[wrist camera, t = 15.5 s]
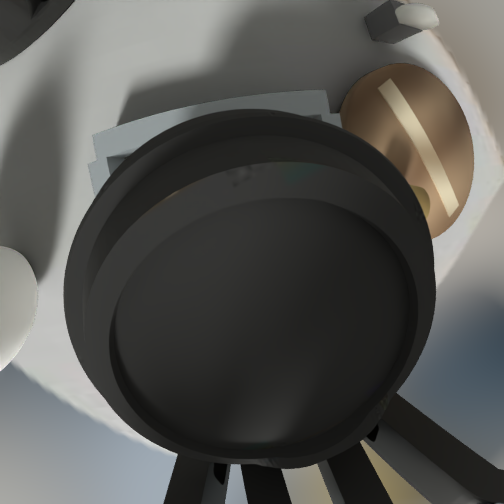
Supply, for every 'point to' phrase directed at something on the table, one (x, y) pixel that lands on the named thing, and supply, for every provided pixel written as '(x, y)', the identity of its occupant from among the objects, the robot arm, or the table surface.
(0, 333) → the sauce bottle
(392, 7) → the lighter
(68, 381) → the table surface
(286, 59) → the table surface
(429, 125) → the disc
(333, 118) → the pocket stop
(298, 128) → the coffee cup
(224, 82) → the table surface
